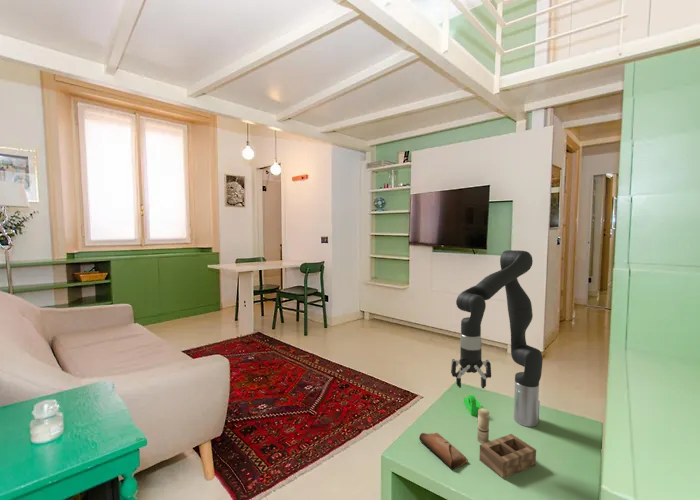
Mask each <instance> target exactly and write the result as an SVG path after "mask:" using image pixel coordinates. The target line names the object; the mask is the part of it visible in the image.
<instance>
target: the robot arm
mask: <svg viewBox="0 0 700 500" xmlns="http://www.w3.org/2000/svg"><path fill="white" fill-rule="evenodd" d="M499 262H500V264H499V265H500V270H497V271H495V272H493V273H491V274H489V275H487V276H485V277H484V278H483V279H482V280H481V281H479V282H478V283H476V285H473V286H470V287H469V288H466V289H465V290H464V291H461V292H460V293H459V294H458V295H457V298H456V300H455V301H456V307H457V308H458V309H459V310H460V311H463V312H467V313H470V315H469V316H467V317H463V318H462V319H461V321H460V322H461V323H460V339H459V341H460V342H459V343H460V344H459V345H460V347H459V349H460V350H459V351H460V352H459V354H460V358H459V360H458V359H454V358H452V359H451V366H450V367H451V369H450V371H451V372H450V373H451V376H452V377H455V379H456V381H455V383H456V385H457V387H458V388H460V389H461V388H462V376H463V375H465V374H466V373H472V374H476V373H478V374H479V375H480V388H481V389H485V387H486V386H487V379H488V378H489V379H491V378H492V367H491V362H490V360H489V359H486V360H483V359H482V347H483V345H482V343H483V342H482V337H481V336H482V329H481V327H482V326H481V325H482V321H483V318H484V314H485V311H486V306H487V305H486V301H488V300H490V299H491V298H492V297H494V296H495V295H496V294H497V293H498V292H499V291H500V290H501V289H502V288H505V294H506V304H507V305H506V306H507V313H508V319H509V330H510V354H511V358H512V360H513V362H514V363H516V364H517V365H520V366H522V367H523V368H524V369H523V371H519V372H516V373H515V375H514V395H513V396H514V401H513V402H514V403H513V420H514V421H515V422H516V423H517V424H519V425H521V426H523V427H528V428H533V427H536V426H538V424H539V422H540V404H541V403H540V400H539V395H540V394H539V392H540V381H541V378H542V372H543V370H542V369H543V362H544V361H543V360H544V359H543V354H542V351H541V350H540V349H538V348H536V347H534V346H531V345H529V344H527V340H526V331H527V329H528V327H530V324H531V322H532V320H533V305H532V302H531V298H530V297H529V295H528V294H527V292H526V291H525V289H523V287H522V285H521V284H520V282H519V280H518V278H519V277H520V276H522V275H525V274H526V273H527V272H529V271H530V269H532V266H533V256H532V255H531V253H530V252H528V251H526V250H504V251H503V252H502V253H501V254H500V258H499ZM459 365H460V367H459V369H458V370H457V367H458V366H459ZM483 366H484V368H485V373H484V372H483V370H482V369H481V368H482V367H483ZM456 370H457V371H456Z"/></svg>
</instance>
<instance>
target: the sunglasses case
mask: <svg viewBox="0 0 700 500" xmlns="http://www.w3.org/2000/svg"><path fill="white" fill-rule="evenodd" d="M418 438H419V441H420V442H421V443H422V444H424V445H425V446H426V447H427V449H428V448H429V450H430V451H432V452H433V453H434V455H435V456H437V457H438V458H439V459H440V460H441V461H442V462H443V463H444V464H445V465H446V466H447V467H448V468H450V469H451V470H455V469H457V468H461V467H462V466H464V465H465V464H466V463H467V462H468V461H469V459H468V458H467V457H466V456H465V455H464V454H463V453H462V452H461V451H460V450H458V449H457V448H456V447H455V446H454V445H453V444H452V443H450V441H448V440H447V439H446V438H444V437H443V436H442V435H441V434H439V432H435V433H434V432H433V433H432V432H431V433H426V432H421V433H420V434H419V437H418Z"/></svg>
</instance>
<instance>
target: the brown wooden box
mask: <svg viewBox="0 0 700 500" xmlns="http://www.w3.org/2000/svg"><path fill="white" fill-rule="evenodd" d="M479 461H480V462H481V463H482V464H484V465H485V466H486V467H487V468H489V469H490V470H491V471H492V472H494V473H495V474H496V475H497V476H499V477H500V478H501V479H502V480H503V479H506V478H508V477H510V476H513V475H516V474H518V473H520V472H523V471H526V470H527V469H530V468H532V467H535V466H536V463H537V449H536V448H535V447H533V446H531V445H530V444H528V443H527V442H525V441H523V440H522V439H520V438H519V437H518V436H516V435H514V434H513V433H510V434H507V435H504V436H501V437H498V438H496V439H492V440H490V441H488V442H487V443H484V444H482V443H480V444H479Z"/></svg>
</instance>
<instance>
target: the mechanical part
mask: <svg viewBox="0 0 700 500" xmlns="http://www.w3.org/2000/svg"><path fill="white" fill-rule="evenodd" d="M480 403H481V402H479V400H477V399H476V397H475V395H474V394H468V395H467V397H466V398H465V397H463V405H465V407H466V409H467V410H468V413H469V414H470V415H471V416H475V417H478V410H479V409H484V407H483V406H482V405H481V404H480Z"/></svg>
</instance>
